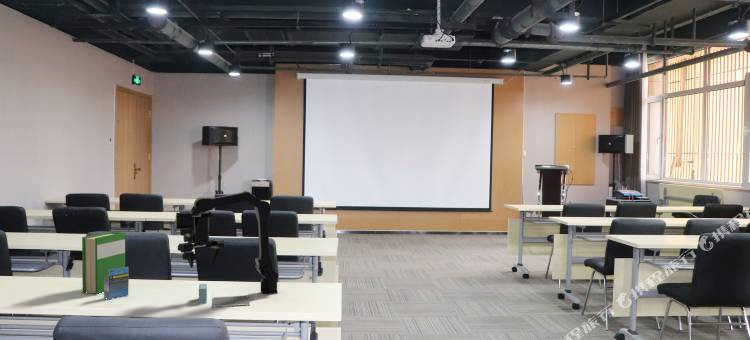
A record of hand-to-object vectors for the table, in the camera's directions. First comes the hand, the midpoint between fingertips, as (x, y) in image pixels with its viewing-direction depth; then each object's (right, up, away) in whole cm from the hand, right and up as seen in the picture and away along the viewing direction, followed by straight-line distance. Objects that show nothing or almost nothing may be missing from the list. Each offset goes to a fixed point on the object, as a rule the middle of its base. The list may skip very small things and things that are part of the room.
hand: (201, 266), depth 244 cm
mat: (+13, -14, -5) cm, 19 cm away
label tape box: (-36, -13, +1) cm, 38 cm away
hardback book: (-46, -13, +14) cm, 50 cm away
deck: (+1, -14, -3) cm, 14 cm away
